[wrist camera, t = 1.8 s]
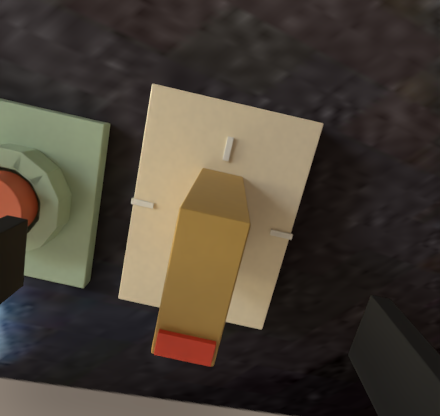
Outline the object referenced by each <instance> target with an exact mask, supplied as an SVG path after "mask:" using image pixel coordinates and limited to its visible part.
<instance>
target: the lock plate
mask: <svg viewBox="0 0 440 416" xmlns="http://www.w3.org/2000/svg"><path fill="white" fill-rule="evenodd" d="M322 128H323V123H320V122H315V121H311V120H307V119H302V118H298V117H294V116H290V115H285V114H281V113H277V112H272V111H268V110H264V109H260V108H255V107H251V106H247V105H243V104H238V103H234V102H230V101H225V100H221V99H217V98H213V97H208V96H204V95H200V94H195V93H191V92H187V91H183V90H178V89H174V88H170V87H165V86H161V85H157V84H152V88H151V94H150V101H149V107H148V113H147V120H146V126H145V132H144V139H143V145H142V151H141V158H140V164H139V170H138V177H137V183H136V189H135V195H134V198H132V199H131V204H133V208H132V214H131V221H130V227H129V233H128V240H127V246H126V252H125V259H124V265H123V271H122V278H121V284H120V290H119V297H118V298H119V299H123V300H127V301H132V302H137V303H141V304H146V305H150V306H155V307H160V303H161V298H162V293H163V288H164V283H165V278H166V273H167V268H168V263H169V257H170V252H171V247H172V242H173V237H174V232H175V227H176V222H177V217H178V212H179V208H180V207H181V205H182V203H183V201H184V200H185V198H186V196H187V194H188V193H189V191H190V189H191V187H192V186H193V184H194V182H195V180H196V179H197V177H198V175H199V173H200V172H201V170H202V168H206V169H211V170H215V171H219V172H224V173H228V174H233V175H237V176H241V177H243V181H244V187H245V193H246V199H247V205H248V211H249V217H250V223H251V226H250V230H249V234H248V238H247V242H246V245H245V249H244V253H243V257H242V261H241V265H240V268H239V272H238V276H237V280H236V284H235V287H234V291H233V295H232V299H231V303H230V306H229V310H228V314H227V318H226V322H229V323H233V324H238V325H242V326H247V327H252V328H256V329H262V328H263V325H264V321H265V318H266V315H267V311H268V308H269V305H270V301H271V298H272V295H273V291H274V288H275V285H276V281H277V278H278V275H279V271H280V268H281V265H282V261H283V258H284V255H285V251H286V248H287V245H288V241H289V239H290V240H292V236H293V234H291V231H292V228H293V224H294V221H295V218H296V214H297V211H298V208H299V204H300V201H301V198H302V194H303V191H304V188H305V184H306V181H307V178H308V174H309V171H310V168H311V164H312V161H313V158H314V154H315V151H316V148H317V144H318V141H319V138H320V134H321V131H322Z"/></svg>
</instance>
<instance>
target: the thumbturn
mask: <svg viewBox="0 0 440 416" xmlns="http://www.w3.org/2000/svg"><path fill="white" fill-rule="evenodd" d="M250 226H251V223H250V217H249V211H248V205H247V199H246V193H245V187H244V181H243V177H241V176H237V175H233V174H228V173H224V172H219V171H215V170H211V169H206V168H202V170H201V172H200V173H199V175H198V177H197V179H196V180H195V182H194V184H193V186H192V187H191V189H190V191H189V193H188V194H187V196H186V198H185V200H184V201H183V203H182V205H181V207H180V208H179V212H178V217H177V222H176V227H175V232H174V237H173V242H172V247H171V252H170V257H169V263H168V268H167V273H166V278H165V283H164V288H163V293H162V298H161V303H160V308H159V313H158V318H157V323H156V328H155V333H154V338H153V343H152V348H151V353H152V354H154V355H158V356H163V357H167V358H172V359H177V360H181V361H186V362H191V363H195V364H200V365H205V366H209V367H210V366H214V363H215V360H216V356H217V352H218V348H219V344H220V341H221V337H222V333H223V329H224V325H225V322H226V318H227V314H228V310H229V306H230V303H231V299H232V295H233V291H234V287H235V284H236V280H237V276H238V272H239V268H240V265H241V261H242V257H243V253H244V249H245V245H246V242H247V238H248V234H249V230H250Z"/></svg>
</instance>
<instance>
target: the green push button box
mask: <svg viewBox="0 0 440 416" xmlns="http://www.w3.org/2000/svg"><path fill="white" fill-rule="evenodd" d="M109 132H110V124H109V123H105V122H101V121H97V120H92V119H88V118H84V117H79V116H75V115H71V114H66V113H62V112H58V111H53V110H49V109H45V108H40V107H36V106H32V105H27V104H23V103H18V102H14V101H10V100H5V99H1V98H0V171H9V172H12V173H15V174H17V175H19V176H21V177H22V178H23V179H25V180H26V181H27V182H28V183H29V184H30V185H31V187H32V188H33V190H34V192H35V194H36V197H37V201H38V211H37V215H36V217H35V219H34V221H33V222H32V223H31V224H30V225H29V226H28V227H27V241H26V254H25V267H24V276H29V277H34V278H38V279H43V280H47V281H52V282H57V283H61V284H66V285H70V286H75V287H80V288H84V287H85V286H86V285H87V284H88V283H89V282H90V279H91V271H92V263H93V255H94V248H95V240H96V232H97V225H98V217H99V209H100V202H101V194H102V186H103V178H104V171H105V163H106V155H107V148H108V140H109Z"/></svg>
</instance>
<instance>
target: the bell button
mask: <svg viewBox="0 0 440 416" xmlns="http://www.w3.org/2000/svg"><path fill="white" fill-rule="evenodd" d="M37 211H38V201H37V197H36V194H35V192H34V190H33V188H32V187H31V185H30V184H29V183H28V182H27V181H26V180H25V179H23V178H22V177H21V176H19V175H17V174H15V173H12V172H9V171H0V218H2V217H4V216H6V215H9V216H14V217H18V218H23V219H28V226H29V225H30V224H31V223H32V222H33V221H34V219H35V217H36V215H37Z"/></svg>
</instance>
